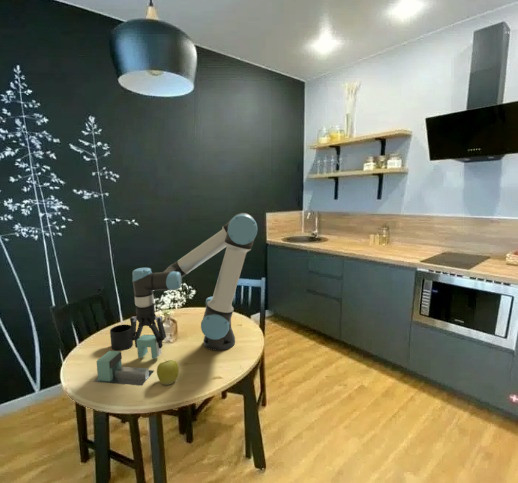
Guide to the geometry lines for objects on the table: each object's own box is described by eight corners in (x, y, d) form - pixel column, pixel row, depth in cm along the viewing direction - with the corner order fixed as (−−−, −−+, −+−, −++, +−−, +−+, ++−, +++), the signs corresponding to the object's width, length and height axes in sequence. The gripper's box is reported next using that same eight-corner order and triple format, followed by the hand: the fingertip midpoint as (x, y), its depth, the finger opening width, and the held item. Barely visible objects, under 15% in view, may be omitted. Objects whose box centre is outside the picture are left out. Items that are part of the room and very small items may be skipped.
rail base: (154, 371, 126) (153, 363, 125) (142, 386, 116) (141, 377, 116) (108, 368, 128) (108, 360, 128) (93, 382, 119) (92, 374, 118)
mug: (138, 348, 145) (136, 330, 144) (109, 352, 141) (108, 334, 140) (139, 339, 154) (138, 322, 153) (113, 343, 150) (111, 325, 149)
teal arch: (155, 358, 132) (154, 340, 131) (138, 357, 133) (136, 340, 132) (161, 351, 137) (160, 334, 136) (144, 351, 138) (143, 334, 137)
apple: (182, 382, 116) (172, 360, 114) (161, 391, 115) (151, 368, 113) (182, 371, 124) (173, 349, 122) (163, 379, 123) (153, 357, 121)
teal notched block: (123, 369, 126) (121, 351, 125) (111, 381, 119) (110, 361, 117) (110, 369, 127) (109, 350, 126) (98, 380, 119) (96, 361, 118)
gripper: (171, 301, 134) (176, 350, 137) (126, 301, 137) (132, 349, 140) (164, 307, 126) (168, 359, 130) (116, 307, 129) (122, 358, 133)
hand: (149, 354), depth 135 cm, fingers closed on teal arch, 8 cm apart
